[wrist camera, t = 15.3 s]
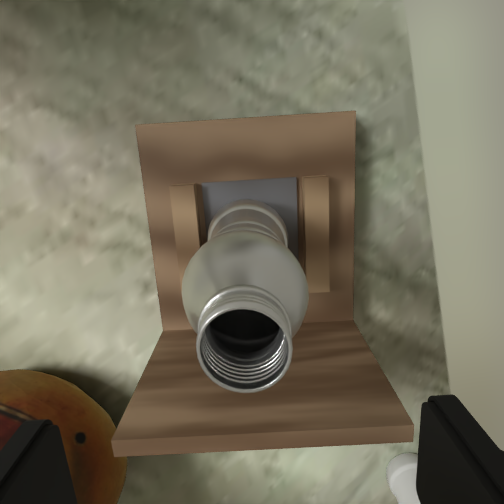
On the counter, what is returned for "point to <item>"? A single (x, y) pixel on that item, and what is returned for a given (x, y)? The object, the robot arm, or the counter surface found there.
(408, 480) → the bottle
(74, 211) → the counter surface
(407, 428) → the display stand
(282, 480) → the counter surface
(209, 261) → the plastic bottle
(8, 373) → the ceramic pitcher
